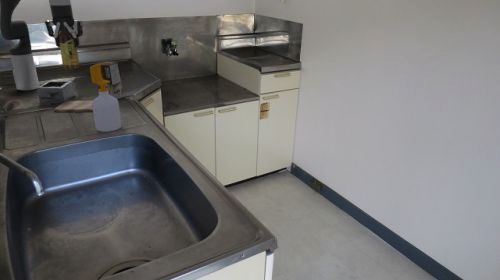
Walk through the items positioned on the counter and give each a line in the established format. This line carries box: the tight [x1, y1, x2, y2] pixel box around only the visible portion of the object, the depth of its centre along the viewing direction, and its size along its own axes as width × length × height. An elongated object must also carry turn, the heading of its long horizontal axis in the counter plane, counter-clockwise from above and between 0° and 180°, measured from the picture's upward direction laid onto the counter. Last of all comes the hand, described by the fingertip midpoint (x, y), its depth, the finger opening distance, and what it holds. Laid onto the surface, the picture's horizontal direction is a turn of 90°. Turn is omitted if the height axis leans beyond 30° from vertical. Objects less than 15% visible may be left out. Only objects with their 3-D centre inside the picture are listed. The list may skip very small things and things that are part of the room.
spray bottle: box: [89, 61, 122, 133], centre depth 139 cm, size 9×9×25 cm
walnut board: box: [54, 100, 93, 113], centre depth 165 cm, size 16×12×1 cm
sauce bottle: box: [59, 19, 80, 70], centre depth 155 cm, size 7×6×20 cm
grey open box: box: [36, 80, 76, 104], centre depth 173 cm, size 11×16×7 cm
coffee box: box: [94, 60, 125, 100], centre depth 176 cm, size 9×6×16 cm
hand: (68, 47), depth 155 cm, fingers closed on sauce bottle, 6 cm apart
